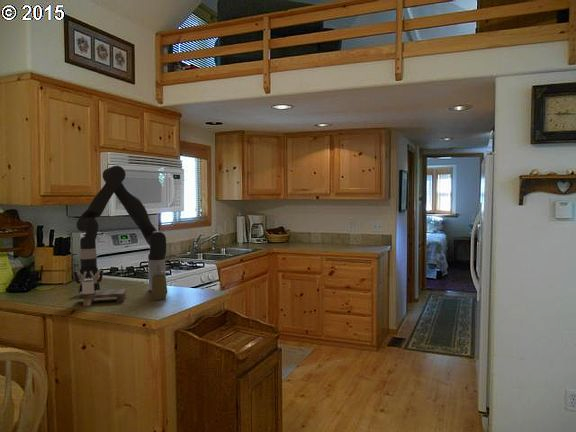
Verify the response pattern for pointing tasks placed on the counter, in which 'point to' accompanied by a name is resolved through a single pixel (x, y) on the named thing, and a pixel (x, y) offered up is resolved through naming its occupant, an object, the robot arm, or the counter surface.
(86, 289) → the stud finder
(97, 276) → the ammunition clip
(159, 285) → the squeeze bottle
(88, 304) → the subfloor plank
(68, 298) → the counter surface
